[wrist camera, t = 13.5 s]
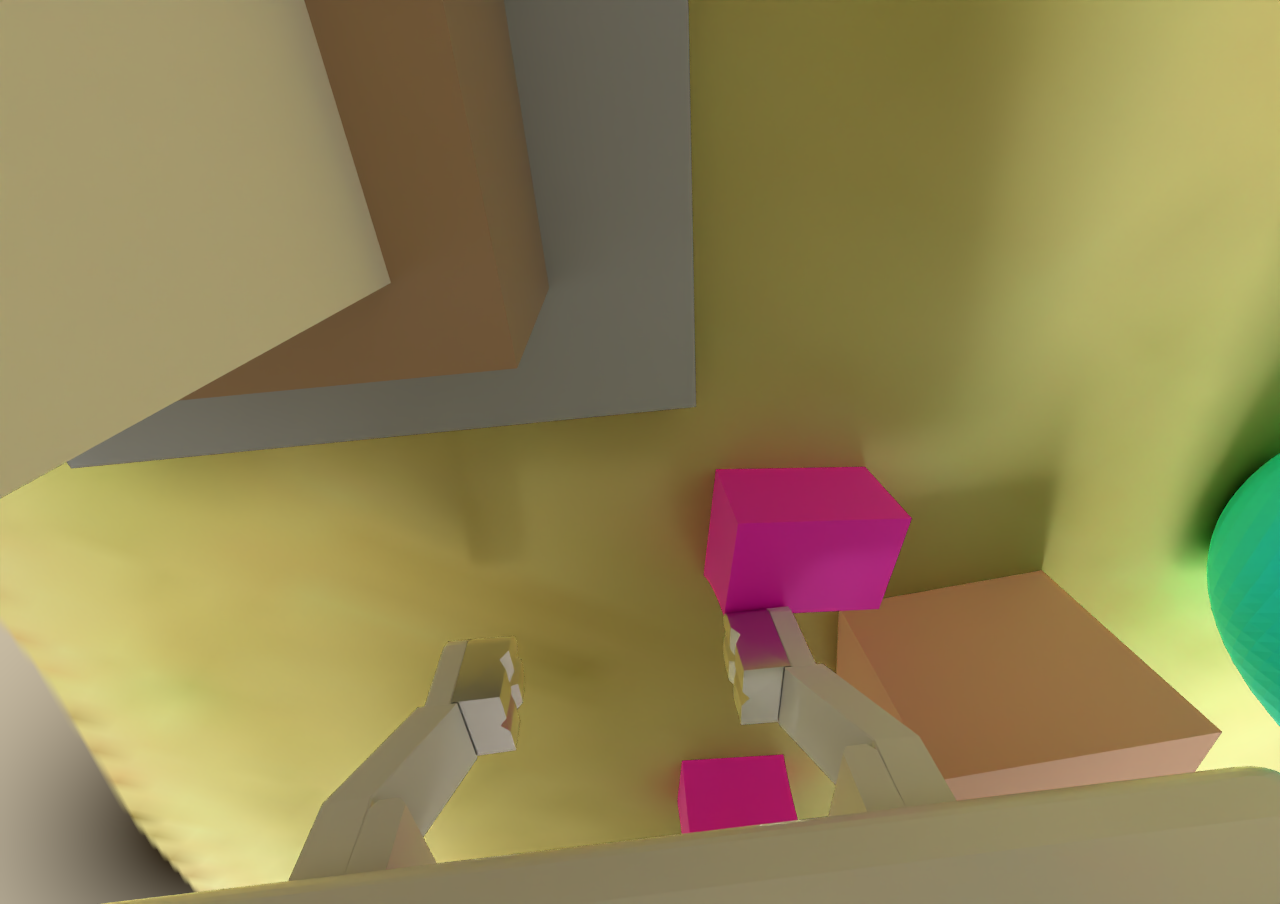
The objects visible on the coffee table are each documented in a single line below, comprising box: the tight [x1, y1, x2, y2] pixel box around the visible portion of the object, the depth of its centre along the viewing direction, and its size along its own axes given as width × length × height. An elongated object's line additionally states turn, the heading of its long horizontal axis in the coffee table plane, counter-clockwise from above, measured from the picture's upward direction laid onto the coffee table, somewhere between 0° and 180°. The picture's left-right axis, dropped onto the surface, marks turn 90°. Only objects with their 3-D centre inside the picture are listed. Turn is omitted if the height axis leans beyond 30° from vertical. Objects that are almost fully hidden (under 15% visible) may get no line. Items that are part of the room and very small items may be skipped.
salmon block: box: [836, 570, 1222, 801], centre depth 14 cm, size 5×5×6 cm
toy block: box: [677, 467, 912, 834], centre depth 17 cm, size 15×6×8 cm, turn 179°
